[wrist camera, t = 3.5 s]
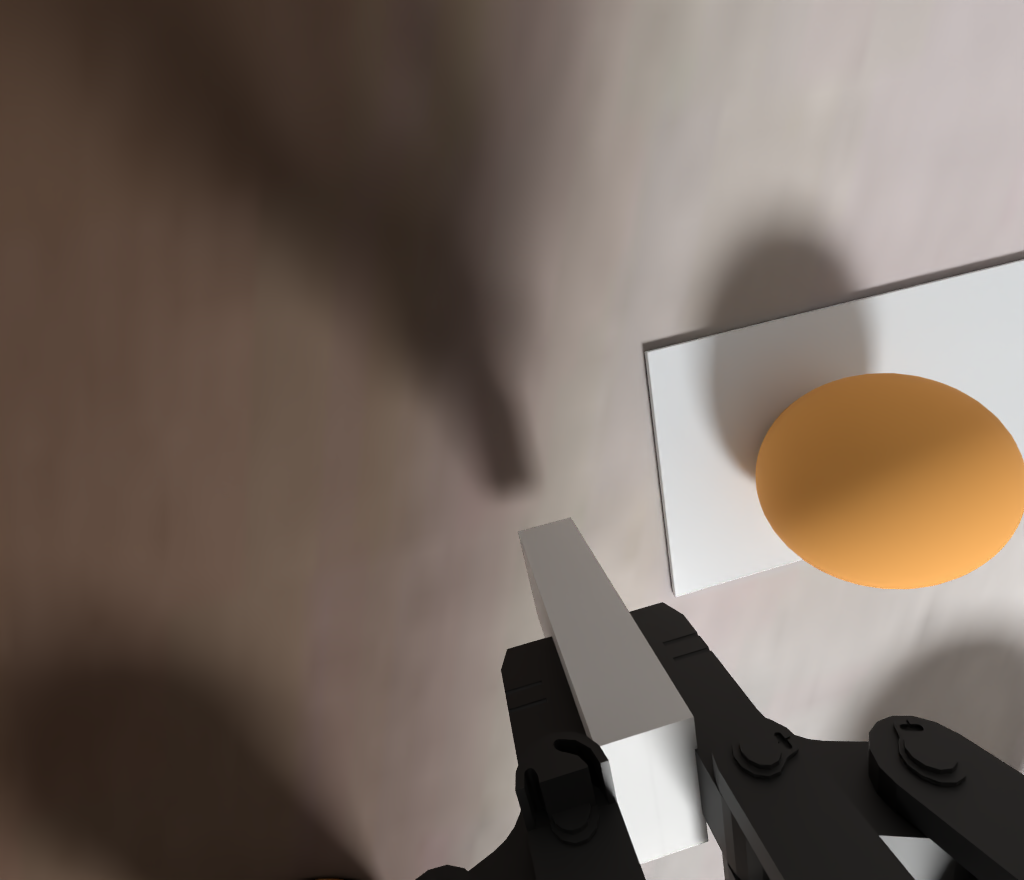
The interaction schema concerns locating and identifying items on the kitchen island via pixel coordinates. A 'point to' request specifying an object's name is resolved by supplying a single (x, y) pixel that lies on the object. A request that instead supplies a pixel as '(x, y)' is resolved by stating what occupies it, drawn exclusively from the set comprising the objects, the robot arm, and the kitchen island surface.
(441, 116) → the kitchen island surface
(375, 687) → the kitchen island surface
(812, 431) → the ball
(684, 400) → the plate
